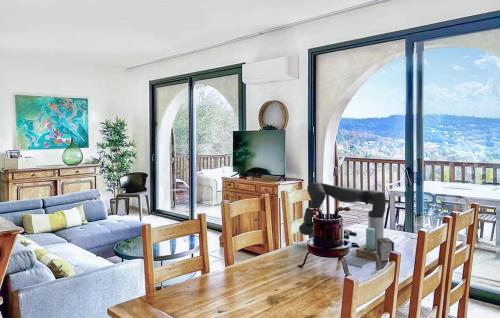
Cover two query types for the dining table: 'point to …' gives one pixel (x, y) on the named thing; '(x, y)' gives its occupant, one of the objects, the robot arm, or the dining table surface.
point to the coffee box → (383, 252)
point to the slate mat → (357, 262)
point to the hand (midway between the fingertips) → (352, 236)
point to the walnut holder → (365, 254)
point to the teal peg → (370, 239)
